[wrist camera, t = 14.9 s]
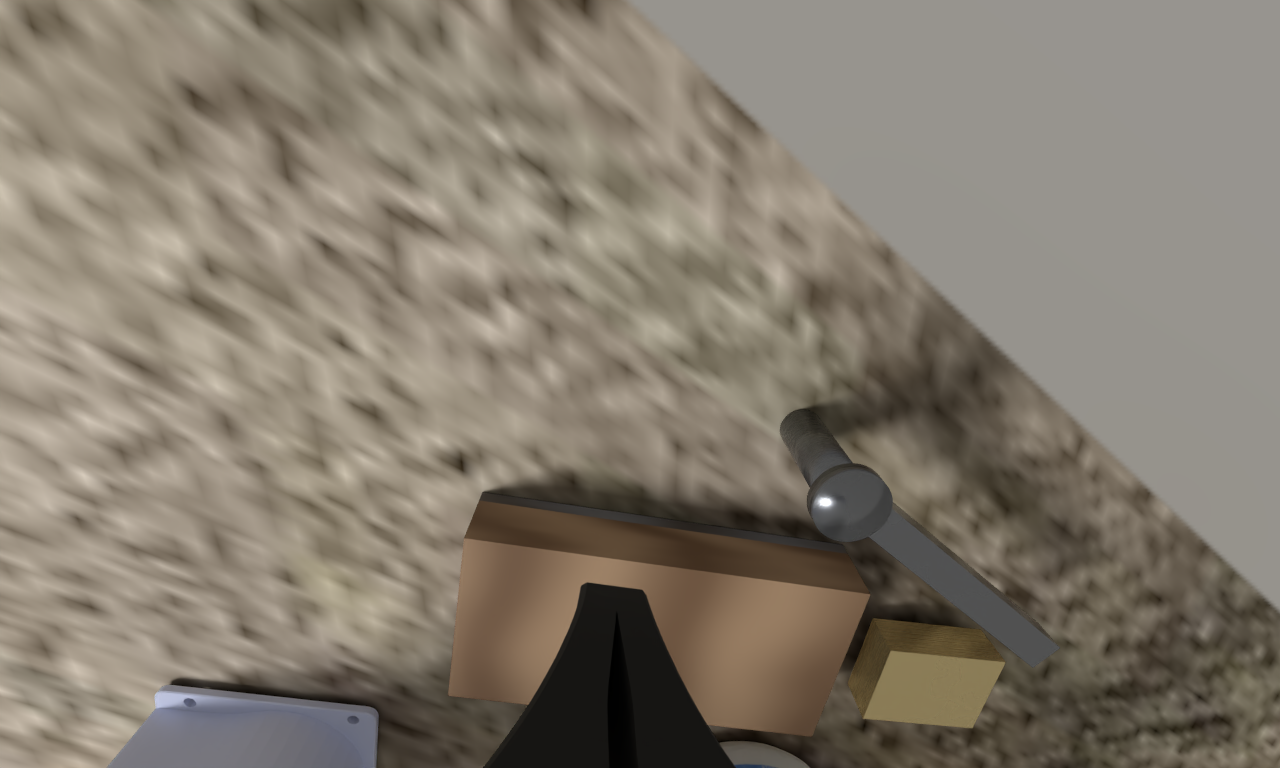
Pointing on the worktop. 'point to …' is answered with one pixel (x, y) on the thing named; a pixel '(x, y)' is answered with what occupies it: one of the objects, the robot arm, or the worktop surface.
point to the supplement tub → (759, 755)
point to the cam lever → (900, 535)
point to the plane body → (658, 606)
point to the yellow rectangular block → (924, 673)
